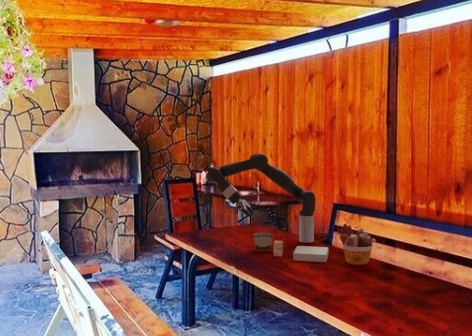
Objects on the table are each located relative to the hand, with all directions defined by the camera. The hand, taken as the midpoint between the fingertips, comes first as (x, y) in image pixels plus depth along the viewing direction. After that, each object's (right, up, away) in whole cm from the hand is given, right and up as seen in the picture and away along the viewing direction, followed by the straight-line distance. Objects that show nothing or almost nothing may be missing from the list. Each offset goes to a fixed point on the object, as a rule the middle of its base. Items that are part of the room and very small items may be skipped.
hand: (251, 214), depth 279 cm
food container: (+8, -23, +12) cm, 27 cm away
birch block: (+15, -23, -2) cm, 28 cm away
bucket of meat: (+56, -24, -19) cm, 64 cm away
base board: (+34, -24, -7) cm, 42 cm away
